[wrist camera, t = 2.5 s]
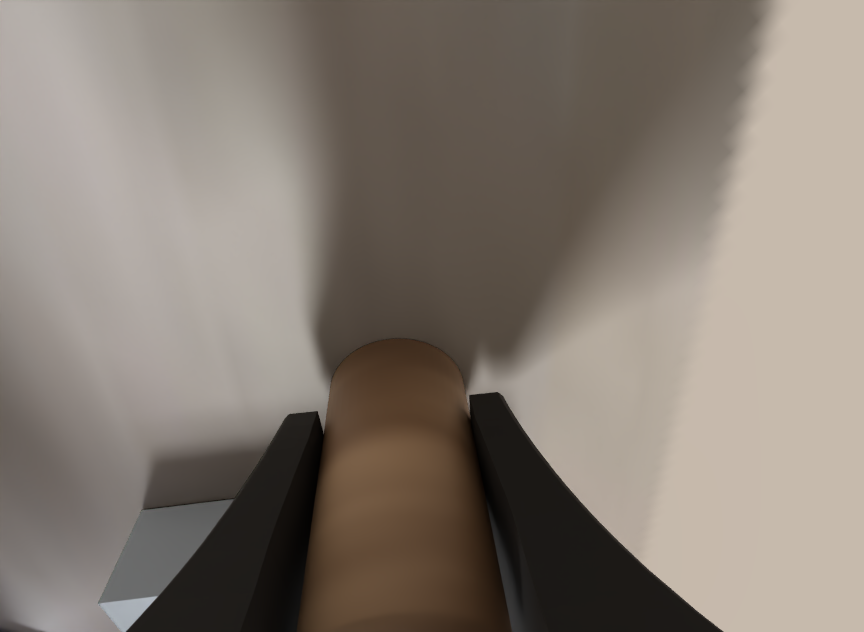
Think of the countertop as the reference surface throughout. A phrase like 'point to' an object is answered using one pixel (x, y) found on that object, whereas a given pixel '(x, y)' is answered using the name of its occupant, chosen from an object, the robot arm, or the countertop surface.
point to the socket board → (156, 556)
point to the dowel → (400, 503)
